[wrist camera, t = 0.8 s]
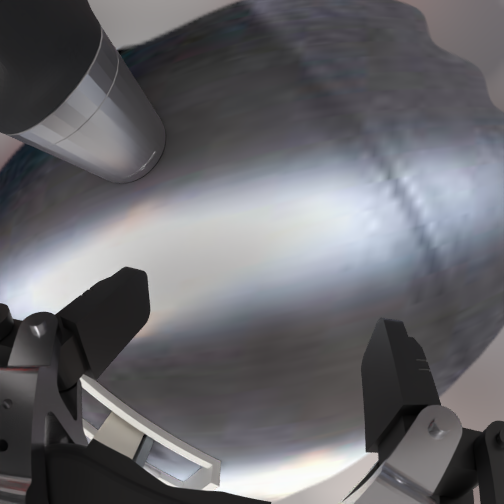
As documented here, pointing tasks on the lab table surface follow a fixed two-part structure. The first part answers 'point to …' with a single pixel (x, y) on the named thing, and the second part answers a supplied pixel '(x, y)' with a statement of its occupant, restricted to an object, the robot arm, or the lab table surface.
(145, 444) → the pusher plate
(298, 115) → the lab table surface
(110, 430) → the cream canister
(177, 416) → the lab table surface
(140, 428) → the lane
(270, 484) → the lab table surface
